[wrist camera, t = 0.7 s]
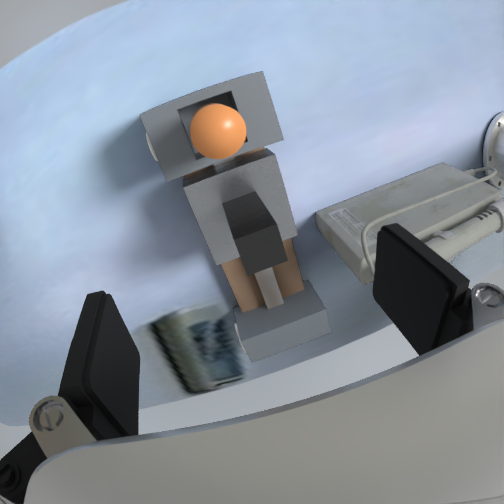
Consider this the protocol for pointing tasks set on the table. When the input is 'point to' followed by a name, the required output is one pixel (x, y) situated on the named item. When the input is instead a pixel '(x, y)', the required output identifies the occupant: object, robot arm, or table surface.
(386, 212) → the geiger counter
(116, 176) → the table surface
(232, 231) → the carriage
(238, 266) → the rail base
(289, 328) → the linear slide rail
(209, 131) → the button
